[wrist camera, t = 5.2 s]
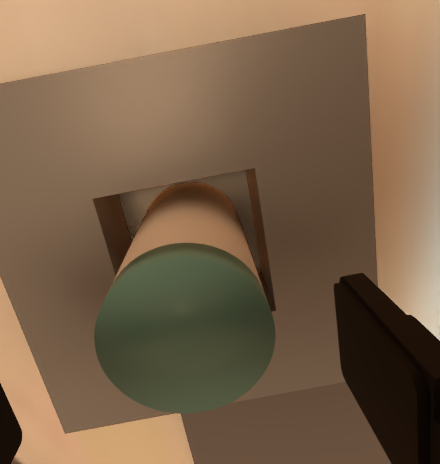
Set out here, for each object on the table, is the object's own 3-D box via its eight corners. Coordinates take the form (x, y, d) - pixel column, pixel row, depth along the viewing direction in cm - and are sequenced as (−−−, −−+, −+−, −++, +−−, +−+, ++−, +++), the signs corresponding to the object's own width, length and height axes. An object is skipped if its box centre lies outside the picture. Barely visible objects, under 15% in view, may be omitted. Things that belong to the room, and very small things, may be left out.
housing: (328, 33, 17) (365, 13, 13) (350, 329, 22) (381, 375, 19) (-14, 99, 17) (-73, 98, 14) (87, 378, 23) (65, 433, 19)
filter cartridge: (230, 173, 19) (262, 242, 10) (245, 262, 21) (285, 396, 11) (133, 192, 19) (70, 278, 10) (156, 279, 21) (121, 427, 11)
